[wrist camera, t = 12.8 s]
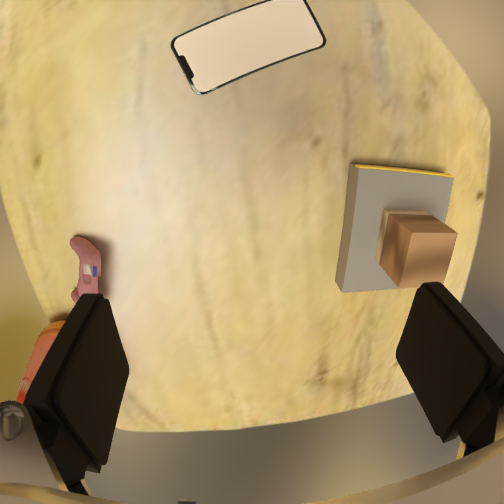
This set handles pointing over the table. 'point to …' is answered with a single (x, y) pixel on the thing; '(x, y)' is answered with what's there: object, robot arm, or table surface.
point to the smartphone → (246, 42)
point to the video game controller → (86, 267)
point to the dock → (370, 213)
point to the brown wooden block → (414, 247)
